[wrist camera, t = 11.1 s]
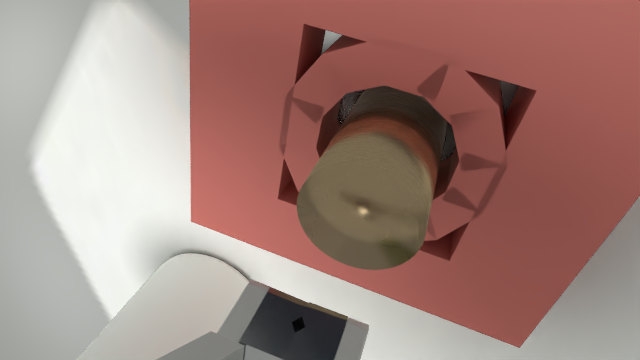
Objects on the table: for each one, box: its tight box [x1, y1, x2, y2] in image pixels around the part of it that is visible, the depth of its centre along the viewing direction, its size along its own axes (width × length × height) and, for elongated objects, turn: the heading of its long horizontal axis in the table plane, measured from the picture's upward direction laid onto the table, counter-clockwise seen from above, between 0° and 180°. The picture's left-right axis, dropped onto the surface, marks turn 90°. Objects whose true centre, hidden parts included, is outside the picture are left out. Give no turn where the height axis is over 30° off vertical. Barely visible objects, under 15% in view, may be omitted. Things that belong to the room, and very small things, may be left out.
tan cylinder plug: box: [297, 85, 447, 270], centre depth 17 cm, size 4×4×7 cm
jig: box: [189, 0, 640, 348], centre depth 18 cm, size 17×15×3 cm
